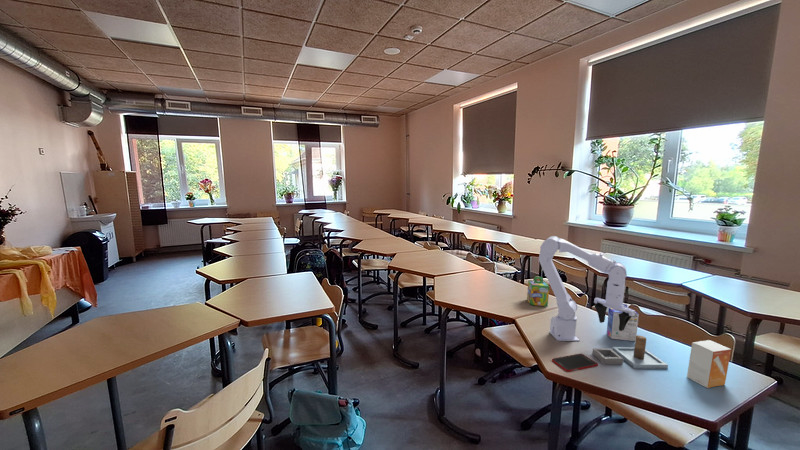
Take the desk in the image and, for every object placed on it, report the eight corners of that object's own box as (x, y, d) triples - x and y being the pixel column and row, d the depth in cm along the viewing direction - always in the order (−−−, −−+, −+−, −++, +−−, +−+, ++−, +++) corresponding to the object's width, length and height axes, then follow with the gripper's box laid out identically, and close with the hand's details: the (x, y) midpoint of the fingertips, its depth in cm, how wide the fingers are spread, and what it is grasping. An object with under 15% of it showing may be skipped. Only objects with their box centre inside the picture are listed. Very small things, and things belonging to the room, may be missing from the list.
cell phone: (599, 366, 115) (599, 364, 115) (566, 373, 111) (567, 370, 110) (581, 355, 122) (581, 353, 122) (550, 361, 118) (550, 358, 118)
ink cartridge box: (630, 335, 138) (633, 304, 136) (636, 341, 132) (640, 309, 130) (605, 333, 140) (608, 302, 138) (610, 339, 134) (614, 307, 132)
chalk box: (530, 305, 170) (532, 279, 168) (526, 299, 179) (528, 274, 177) (548, 306, 168) (550, 280, 166) (543, 300, 177) (545, 275, 175)
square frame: (603, 363, 116) (604, 358, 115) (592, 353, 123) (592, 348, 122) (622, 364, 116) (623, 358, 115) (610, 353, 123) (610, 348, 122)
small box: (707, 388, 102) (713, 351, 100) (686, 377, 108) (691, 341, 107) (725, 385, 104) (732, 348, 102) (703, 374, 110) (709, 339, 108)
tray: (634, 368, 113) (634, 364, 113) (612, 350, 125) (612, 346, 125) (667, 368, 113) (668, 364, 113) (642, 350, 125) (642, 347, 125)
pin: (639, 360, 117) (642, 340, 116) (631, 355, 120) (633, 336, 119) (646, 358, 118) (648, 338, 117) (637, 354, 121) (639, 334, 120)
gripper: (590, 289, 129) (587, 320, 131) (628, 301, 116) (624, 336, 118) (601, 286, 132) (598, 317, 134) (639, 298, 119) (635, 332, 121)
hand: (611, 326), depth 126 cm, fingers open, 7 cm apart
